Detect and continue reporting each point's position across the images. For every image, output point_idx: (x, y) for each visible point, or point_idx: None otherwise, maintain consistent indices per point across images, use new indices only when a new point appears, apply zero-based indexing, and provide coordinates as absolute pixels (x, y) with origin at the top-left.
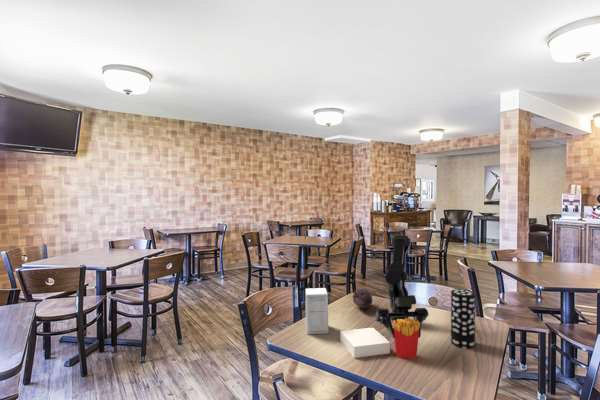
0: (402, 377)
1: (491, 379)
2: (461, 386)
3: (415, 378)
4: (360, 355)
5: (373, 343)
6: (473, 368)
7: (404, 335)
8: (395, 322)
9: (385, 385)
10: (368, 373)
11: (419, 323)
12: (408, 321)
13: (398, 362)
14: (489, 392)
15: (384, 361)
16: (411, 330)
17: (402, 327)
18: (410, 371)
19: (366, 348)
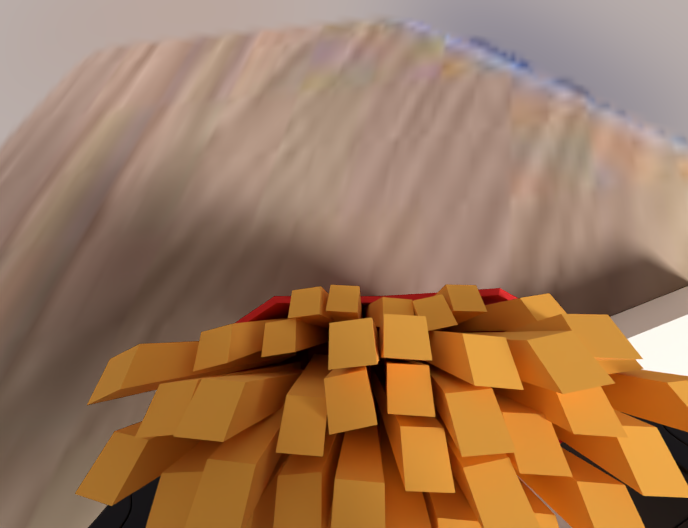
0: (422, 120)
1: (10, 148)
2: (178, 84)
3: (363, 119)
4: (667, 298)
5: (651, 348)
6: (31, 237)
7: (414, 294)
8: (662, 378)
9: (504, 57)
10: (587, 135)
11: (121, 362)
12: (371, 348)
13: (425, 259)
14: (86, 59)
15: (506, 262)
16: (326, 294)
17: (473, 301)
18: (374, 174)
19: (676, 308)
